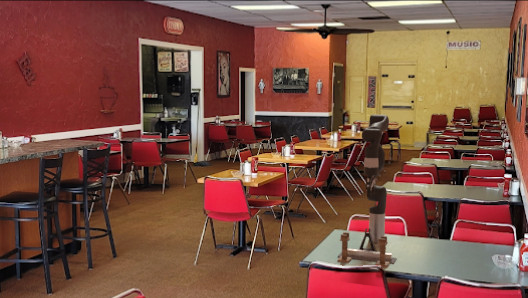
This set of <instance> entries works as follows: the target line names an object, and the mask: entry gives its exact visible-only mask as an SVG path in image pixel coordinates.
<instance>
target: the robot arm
mask: <svg viewBox="0 0 528 298" xmlns="http://www.w3.org/2000/svg"><path fill="white" fill-rule="evenodd" d="M368 122H369V124H368V127H366V128H364V129H363V130H362V132H361V140H362V141H364V142H366V143H369V146H366V147H365V148H364V161H363V162H364V163H363V174H364V175H365V176H367V177H366V178H365V190H366V198H367V199H368V201H372V202H377V204H376V205H372V206H371V207H369V208H368V209H369V210H368V212H369V213H368V215H369V216H368V229H370V230H371V232H370V234H371V237H372V240H373V242H374V244H375V243H376V244H378V243H379V238H381V236H386V235H385V232H386V231H385V229H386V228H385V227H386V225H385V224H386V208H387V197H388V196H387V195H388V192H387V191H388V189H387V188H386V186H382V185H381V186H380V185H377V184H376V183H377V182H376V181H377V177H378V176H379V173H380V172H381V171H382V170H383V168H384V166H385V161H386V152H385V150H384V148H383V146H382V145H381V140H382V137H383V132H385V131H387V130H388V129H389V126H390V118H389V116H388V115H386V114H371V115H370V116H369V121H368Z"/></svg>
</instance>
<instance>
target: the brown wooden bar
mask: <svg viewBox="0 0 528 298" xmlns="http://www.w3.org/2000/svg"><path fill="white" fill-rule="evenodd" d="M347 256H356V257H365V258H373V259H380V251H376V250H375V251H366V250H359V249H355V248H354V249H353V248H348V251H347ZM392 257H393V253H391V252H385V260H392Z"/></svg>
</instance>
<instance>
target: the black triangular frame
mask: <svg viewBox="0 0 528 298" xmlns="http://www.w3.org/2000/svg"><path fill="white" fill-rule="evenodd" d="M367 231H368V232H367ZM370 232H371V230H370V229H369V228H365V230H364V236H363V239H362V240H361V244H360V245H359V249H358V250H366V251H375V252H376V246H375V243H374V242H373V240H372V237H371V234H370ZM367 238H368V241H369V244H370V247H364V245H365V242H366V240H367Z"/></svg>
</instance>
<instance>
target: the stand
mask: <svg viewBox="0 0 528 298" xmlns="http://www.w3.org/2000/svg"><path fill="white" fill-rule="evenodd" d="M350 240H351V238H350V232H347V231H346V232H345V231H343V233H342V234H340V239H339V241H340V242H341V252H342V256H340V257H337V263H347V264H349V263H350V262H351V261H352V260H353V259H352V258H351V257H347V251H348V249H349V248H348V247H349V246H348V243H349V242H348V241H350ZM387 244H389V242H388V236H386V235H384V236H381V238H379V243H377V246H379V252H380V261H377V262H375V265H381V266H382V267H381V268H385V269H386V268H387V269H388V267H389V265H390V263H389V262H385V253H387V252H386V250H387V249H386V247H387Z"/></svg>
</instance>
